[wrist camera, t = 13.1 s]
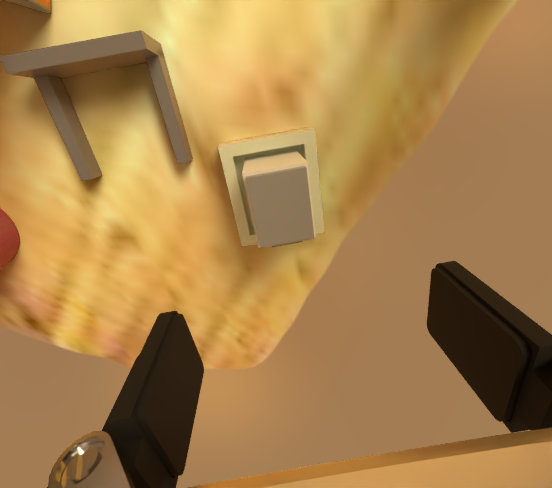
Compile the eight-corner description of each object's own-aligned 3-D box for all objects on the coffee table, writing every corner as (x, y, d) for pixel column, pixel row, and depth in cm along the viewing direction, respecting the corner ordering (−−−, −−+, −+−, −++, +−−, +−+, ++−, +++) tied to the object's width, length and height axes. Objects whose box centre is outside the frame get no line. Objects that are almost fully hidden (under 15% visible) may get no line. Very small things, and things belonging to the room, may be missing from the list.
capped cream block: (295, 149, 30) (309, 162, 23) (303, 214, 33) (318, 245, 26) (245, 158, 30) (241, 175, 23) (258, 222, 34) (259, 256, 26)
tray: (309, 127, 30) (315, 128, 28) (318, 222, 35) (324, 232, 32) (221, 142, 31) (217, 146, 28) (242, 235, 35) (241, 246, 32)
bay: (160, 44, 26) (141, 30, 22) (192, 158, 31) (182, 166, 27) (42, 65, 27) (-2, 56, 22) (91, 176, 31) (64, 187, 27)
